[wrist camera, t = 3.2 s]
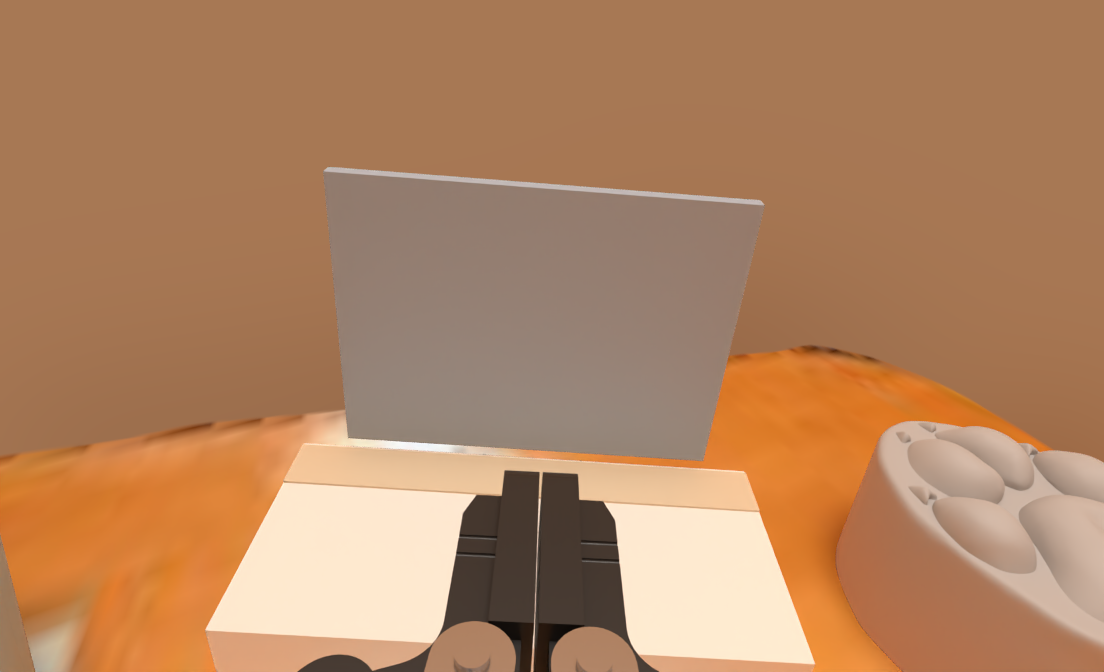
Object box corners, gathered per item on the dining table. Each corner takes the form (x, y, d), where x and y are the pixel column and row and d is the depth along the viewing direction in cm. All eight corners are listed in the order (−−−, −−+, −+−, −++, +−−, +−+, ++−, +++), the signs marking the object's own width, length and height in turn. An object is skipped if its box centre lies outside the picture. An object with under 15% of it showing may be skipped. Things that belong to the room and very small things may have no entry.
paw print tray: (1041, 808, 24) (1166, 659, 20) (783, 556, 34) (830, 421, 30) (1173, 693, 29) (1297, 552, 25) (912, 500, 39) (969, 376, 35)
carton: (234, 737, 24) (204, 628, 21) (317, 539, 33) (304, 441, 30) (772, 764, 25) (815, 662, 22) (717, 563, 33) (744, 469, 30)
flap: (348, 437, 30) (323, 171, 24) (351, 429, 30) (328, 166, 24) (703, 460, 30) (764, 205, 24) (700, 452, 31) (760, 200, 25)
